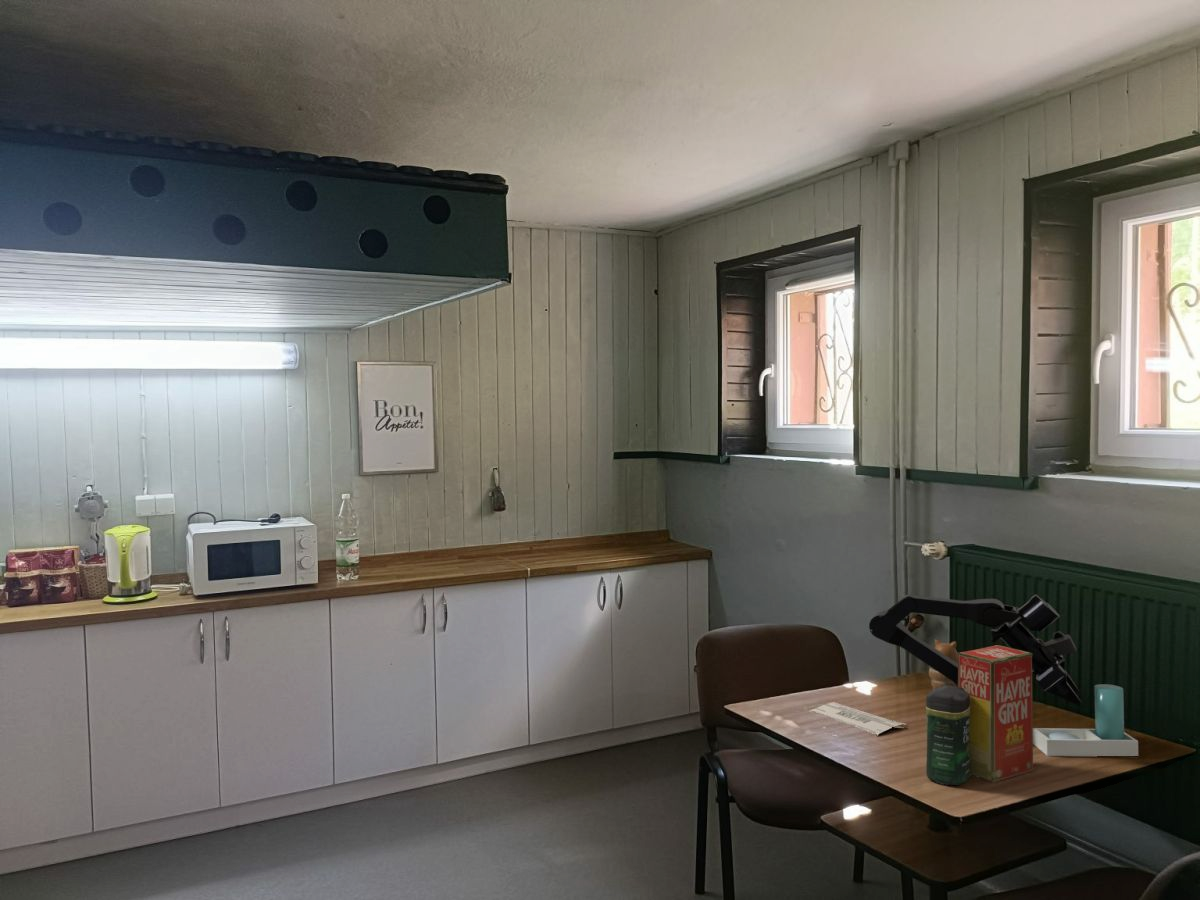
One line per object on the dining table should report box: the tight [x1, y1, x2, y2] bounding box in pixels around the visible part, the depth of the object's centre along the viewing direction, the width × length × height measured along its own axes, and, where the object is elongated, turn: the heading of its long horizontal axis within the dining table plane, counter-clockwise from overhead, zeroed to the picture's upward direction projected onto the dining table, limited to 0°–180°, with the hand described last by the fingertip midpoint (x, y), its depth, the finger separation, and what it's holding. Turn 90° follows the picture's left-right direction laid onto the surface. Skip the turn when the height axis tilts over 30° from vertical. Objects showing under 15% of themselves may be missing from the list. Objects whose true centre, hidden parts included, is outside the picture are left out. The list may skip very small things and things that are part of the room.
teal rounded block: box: [1094, 683, 1125, 740], centre depth 195 cm, size 6×6×13 cm
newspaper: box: [810, 701, 907, 736], centre depth 220 cm, size 23×12×2 cm, turn 33°
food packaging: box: [957, 644, 1034, 783], centre depth 185 cm, size 13×9×25 cm
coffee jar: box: [925, 685, 972, 786], centre depth 181 cm, size 10×8×19 cm
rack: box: [1033, 727, 1139, 757], centre depth 195 cm, size 19×8×4 cm, turn 85°
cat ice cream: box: [928, 639, 959, 690], centre depth 226 cm, size 9×8×18 cm
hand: (1078, 698), depth 198 cm, fingers open, 9 cm apart
